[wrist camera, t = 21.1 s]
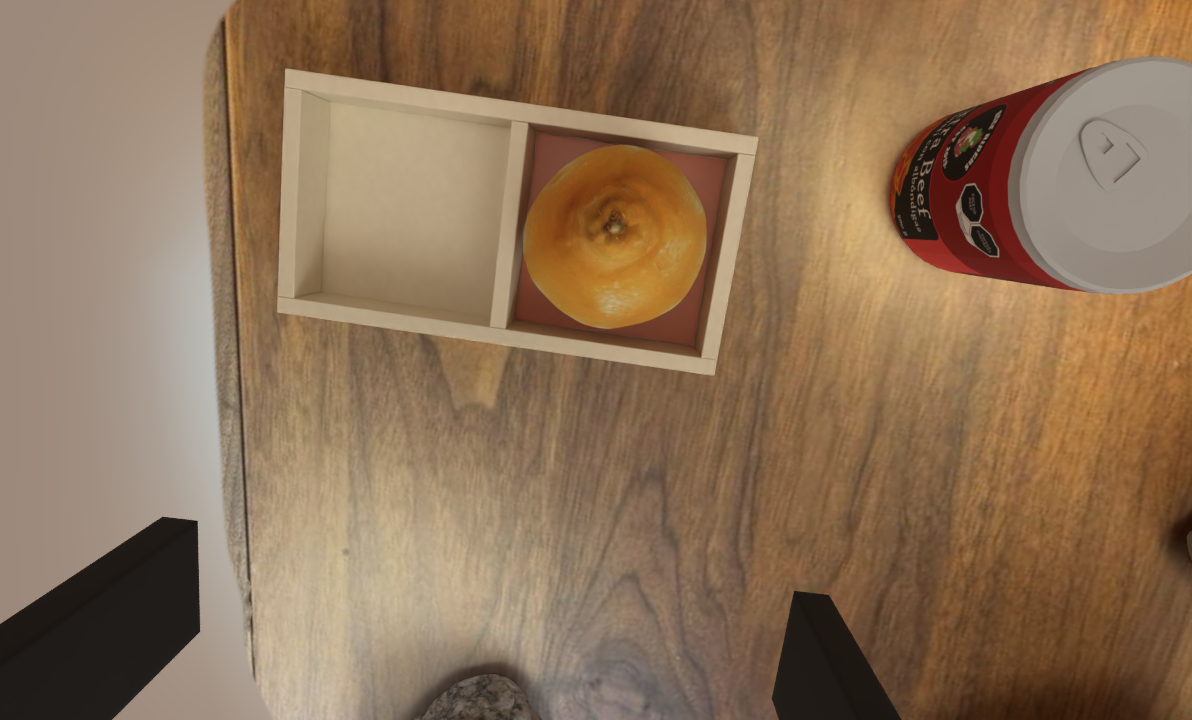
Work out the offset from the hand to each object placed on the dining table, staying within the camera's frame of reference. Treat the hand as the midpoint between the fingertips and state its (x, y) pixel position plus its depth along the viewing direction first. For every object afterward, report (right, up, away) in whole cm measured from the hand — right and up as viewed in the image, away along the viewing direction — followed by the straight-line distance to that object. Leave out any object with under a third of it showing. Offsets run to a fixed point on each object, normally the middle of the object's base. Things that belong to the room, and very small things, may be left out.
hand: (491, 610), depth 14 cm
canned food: (+21, +14, +18) cm, 31 cm away
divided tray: (-2, +12, +19) cm, 23 cm away
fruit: (+3, +12, +18) cm, 22 cm away
